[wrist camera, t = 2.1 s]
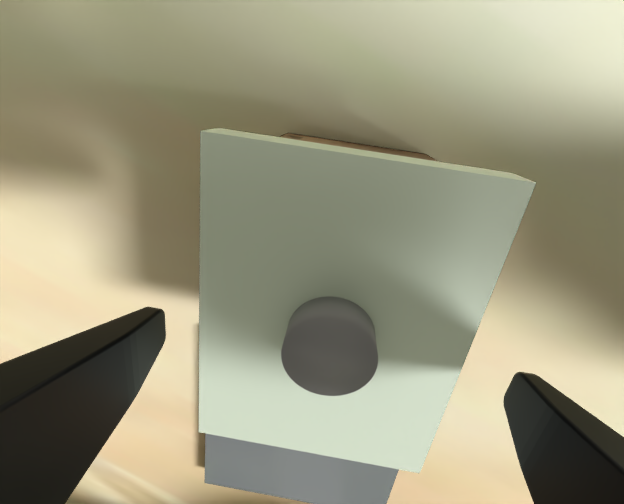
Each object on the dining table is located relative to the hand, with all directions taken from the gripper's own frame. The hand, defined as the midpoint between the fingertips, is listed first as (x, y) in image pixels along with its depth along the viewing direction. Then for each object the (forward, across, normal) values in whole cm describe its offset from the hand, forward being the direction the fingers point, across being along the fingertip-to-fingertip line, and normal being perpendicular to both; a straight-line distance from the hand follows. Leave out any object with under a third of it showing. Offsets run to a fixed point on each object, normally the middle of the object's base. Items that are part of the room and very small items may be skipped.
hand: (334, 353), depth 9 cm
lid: (+3, 0, 0) cm, 3 cm away
